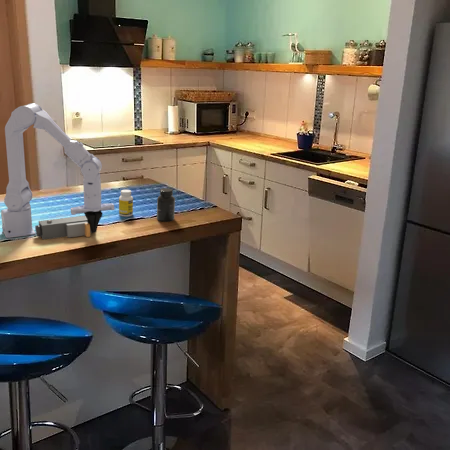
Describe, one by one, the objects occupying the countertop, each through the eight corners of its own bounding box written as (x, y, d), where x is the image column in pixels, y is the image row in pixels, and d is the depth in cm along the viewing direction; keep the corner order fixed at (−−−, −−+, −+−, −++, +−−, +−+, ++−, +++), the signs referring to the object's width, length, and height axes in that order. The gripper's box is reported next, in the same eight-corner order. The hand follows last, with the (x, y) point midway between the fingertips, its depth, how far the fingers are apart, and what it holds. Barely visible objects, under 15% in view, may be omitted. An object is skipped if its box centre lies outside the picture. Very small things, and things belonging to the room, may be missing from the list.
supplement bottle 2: (153, 220, 192) (153, 190, 188) (162, 215, 198) (162, 186, 194) (169, 223, 190) (169, 193, 186) (177, 218, 196) (178, 189, 192)
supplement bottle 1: (129, 217, 194) (129, 193, 190) (116, 216, 195) (116, 191, 191) (135, 213, 199) (134, 189, 195) (122, 212, 200) (121, 188, 196)
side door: (69, 239, 168) (69, 227, 166) (66, 236, 171) (66, 223, 169) (90, 236, 171) (89, 224, 170) (87, 233, 174) (86, 221, 173)
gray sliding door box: (38, 240, 166) (37, 224, 164) (35, 235, 170) (34, 219, 169) (95, 232, 176) (95, 217, 174) (91, 227, 180) (90, 213, 179)
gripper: (74, 199, 161) (76, 238, 166) (117, 194, 169) (117, 232, 173) (68, 193, 167) (70, 231, 171) (110, 189, 174) (110, 226, 179)
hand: (93, 231), depth 173 cm, fingers closed
